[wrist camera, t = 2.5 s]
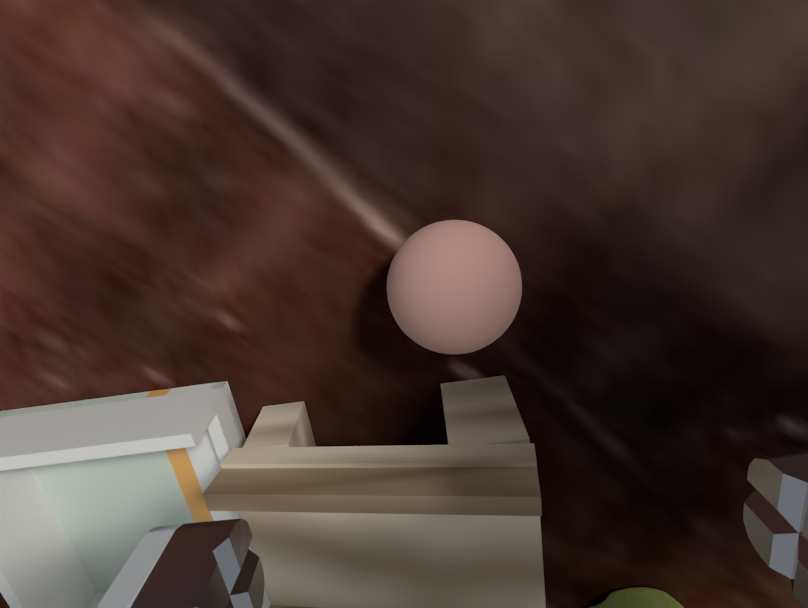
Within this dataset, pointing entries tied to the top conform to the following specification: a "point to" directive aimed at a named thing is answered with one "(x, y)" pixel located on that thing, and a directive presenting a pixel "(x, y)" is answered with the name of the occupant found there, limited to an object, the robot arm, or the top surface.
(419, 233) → the rubber ball
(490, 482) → the launch ramp
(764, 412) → the top surface
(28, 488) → the tray
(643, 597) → the plant pot
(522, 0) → the top surface
